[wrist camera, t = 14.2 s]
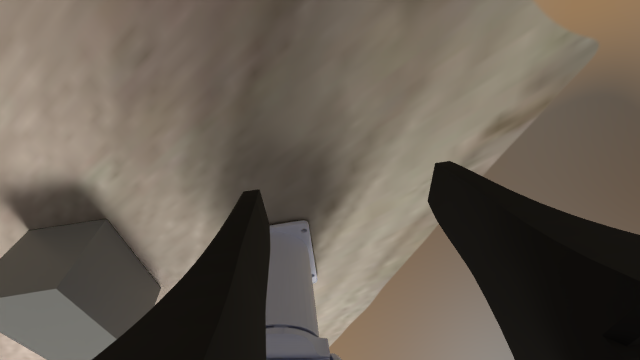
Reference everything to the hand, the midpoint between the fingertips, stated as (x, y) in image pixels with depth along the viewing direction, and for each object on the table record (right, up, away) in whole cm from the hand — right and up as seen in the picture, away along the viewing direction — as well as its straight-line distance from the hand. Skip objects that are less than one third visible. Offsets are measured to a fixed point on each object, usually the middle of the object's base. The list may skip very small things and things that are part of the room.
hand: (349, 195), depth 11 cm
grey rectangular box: (-21, -7, +13) cm, 26 cm away
